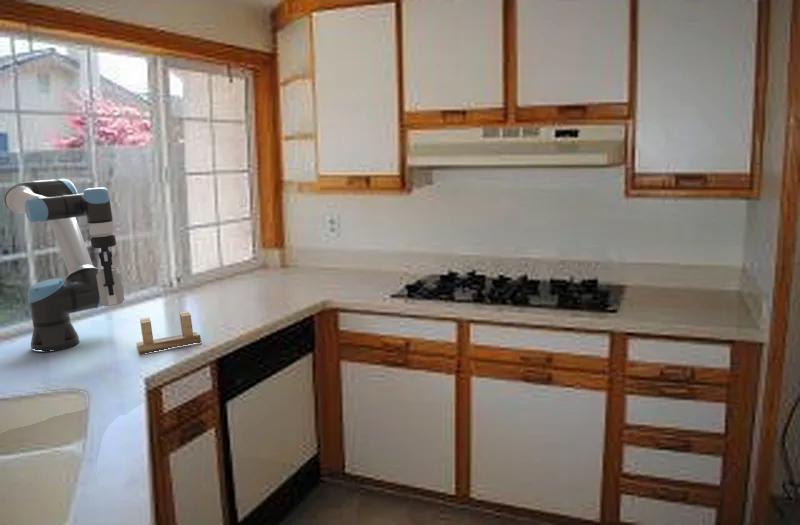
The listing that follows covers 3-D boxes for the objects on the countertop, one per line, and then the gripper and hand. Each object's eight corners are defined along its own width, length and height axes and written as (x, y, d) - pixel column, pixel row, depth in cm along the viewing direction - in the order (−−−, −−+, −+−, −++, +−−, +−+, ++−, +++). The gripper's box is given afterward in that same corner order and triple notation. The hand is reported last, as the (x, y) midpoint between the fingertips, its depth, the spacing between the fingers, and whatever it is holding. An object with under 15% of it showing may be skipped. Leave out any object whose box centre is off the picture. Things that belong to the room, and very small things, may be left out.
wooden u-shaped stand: (137, 345, 225) (133, 317, 223) (196, 334, 233) (192, 308, 231) (139, 355, 214) (135, 326, 212) (201, 343, 222) (198, 315, 220)
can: (117, 300, 222) (112, 265, 220) (129, 302, 218) (124, 267, 216) (96, 305, 216) (90, 270, 214) (108, 307, 212) (102, 272, 210)
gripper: (90, 232, 220) (100, 297, 225) (89, 240, 202) (100, 310, 206) (114, 230, 223) (123, 294, 228) (115, 237, 205) (125, 306, 209)
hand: (112, 301), depth 217 cm, fingers closed on can, 7 cm apart
